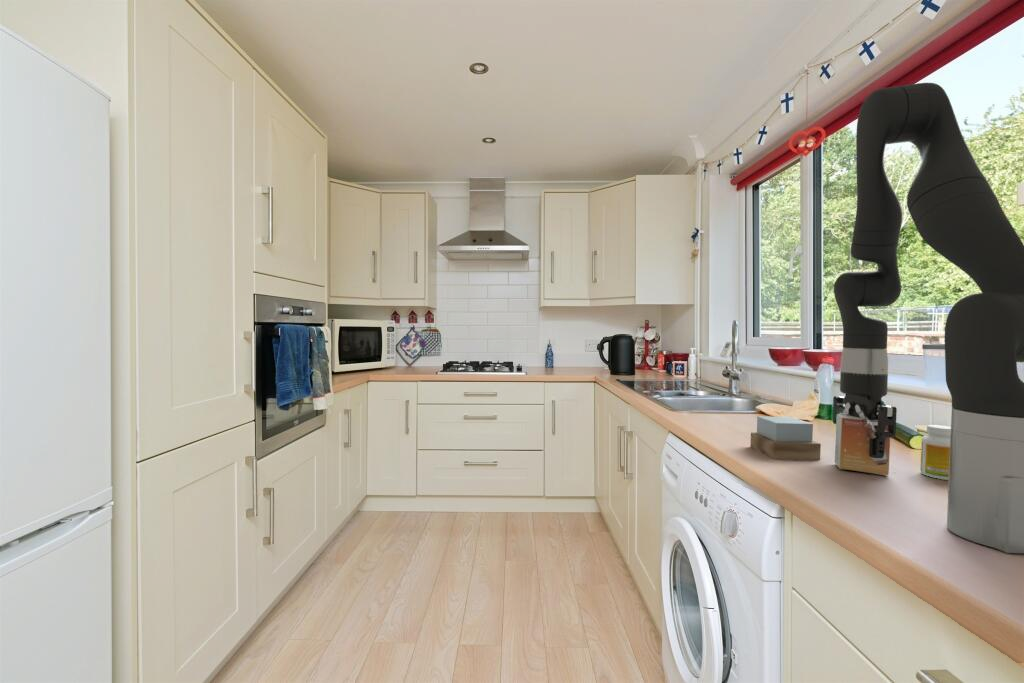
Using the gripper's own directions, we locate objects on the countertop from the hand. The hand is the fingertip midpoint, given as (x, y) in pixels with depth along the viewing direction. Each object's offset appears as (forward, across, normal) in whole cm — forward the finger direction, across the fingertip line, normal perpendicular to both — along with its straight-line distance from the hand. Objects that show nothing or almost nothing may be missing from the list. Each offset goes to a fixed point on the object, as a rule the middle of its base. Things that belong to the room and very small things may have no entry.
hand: (861, 452), depth 91 cm
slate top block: (0, +12, +8) cm, 15 cm away
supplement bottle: (+4, -3, -13) cm, 14 cm away
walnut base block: (+4, +12, +8) cm, 15 cm away
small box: (+4, 0, 0) cm, 4 cm away
